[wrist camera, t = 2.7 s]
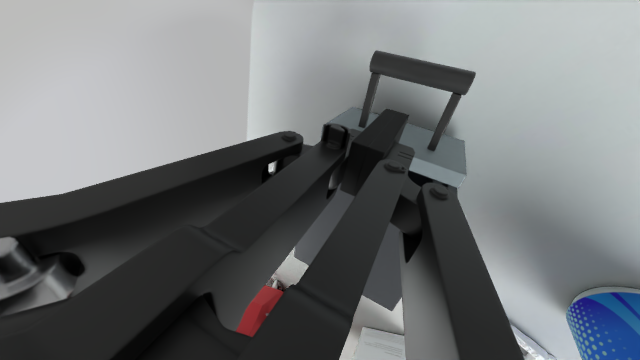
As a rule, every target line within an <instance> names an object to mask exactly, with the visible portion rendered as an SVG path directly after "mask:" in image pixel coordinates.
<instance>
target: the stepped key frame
mask: <svg viewBox="0 0 640 360" xmlns="http://www.w3.org/2000/svg"><path fill="white" fill-rule="evenodd" d="M510 326H511V328H512V330H513V333H514V335H515V338H516V340H517V342H518V344H519V345H520V346H521V347H523V348H524V349H525V350H526V351H527V352H529V353H528V354H527V355H526V356H523V357H524V359H525V360H557V359H556V358H555V357H554V356H552V355H550V354H547V352H546V351H545V350H544V349H542V348H541V347H540V346H539V345H538V344H536V343H535V342H534V341H533V340H532V339H530V338H529V337H528V336H525V335H524V334H523V333H522V332H520V331H519V330H518V329H517V328H516V327H514V326H513V325H510Z"/></svg>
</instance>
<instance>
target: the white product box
mask: <svg viewBox="0 0 640 360" xmlns="http://www.w3.org/2000/svg"><path fill="white" fill-rule="evenodd" d="M352 360H406V355H405V338H404V336H402V335H397V334H393V333H389V332H384V331H380V330H375V329H370V328H366V327H363V328H362V331H361V334H360V337H359V340H358V343H357V346H356V349H355V352H354V355H353V358H352Z"/></svg>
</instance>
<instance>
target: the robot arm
mask: <svg viewBox="0 0 640 360" xmlns="http://www.w3.org/2000/svg"><path fill="white" fill-rule="evenodd" d="M408 117H409V115H407V114H404V113H400V112H397V111H394V110H390V109H387V108H386V109H385V110H384V111H383V112H382V113H381V114H380V115H379V116H378V117H377V118H376V119H375V120H374V121H373V122H372V123H371V124H370V125H369V126H368V127H366V128H365V129H364V130H363V131H359V130H356V129H353V128H352V129H349V128H348V127H346V126H343V125H340V124H335V123H327V124H324V126H323V132H322V138H321V141H320V142H319V143H318V144H316V145H315V146H309V145H304V144H303V137H302V136H301V135H300V134H297V133H296V132H292V131H284V132H279V133H275V134H271V135H268V136H264V137H261V138H257V139H254V140H250V141H247V142H243V143H240V144H237V145H233V146H230V147H226V148H222V149H219V150H215V151H212V152H208V153H205V154H201V155H198V156H195V157H191V158H187V159H184V160H180V161H177V162H173V163H170V164H166V165H163V166H159V167H156V168H152V169H149V170H145V171H141V172H138V173H135V174H131V175H127V176H124V177H121V178H117V179H113V180H110V181H106V182H103V183H99V184H96V185H92V186H89V187H85V188H82V189H79V190H75V191H71V192H68V193H64V194H59V195H53V196H46V197H39V198H32V199H25V200H18V201H11V202H5V203H0V360H339V358H340V355H341V353H342V350H343V347H344V345H345V342H346V339H347V336H348V334H349V331H350V328H351V325H352V322H353V317H354V314H355V311H356V309H357V306H358V303H359V301H360V298H361V295H362V293H363V290H364V288H365V285H366V282H367V280H368V277H369V274H370V272H371V269H372V267H373V264H374V261H375V259H376V256H377V254H378V251H379V248H380V246H381V243H382V240H383V238H384V235H385V233H386V230H387V227H388V225H389V222H390V223H391V224H393V225H394V226H395V227H397V228H398V229H399V230H400V231H399V252H400V269H401V287H402V304H403V321H404V338H405V355H406V360H525V359H524V357H523V354H522V352H521V350H520V347H519V345H518V342H517V340H516V338H515V335H514V333H513V330H512V328H511V326H510V323H509V321H508V318H507V316H506V314H505V311H504V309H503V306H502V304H501V302H500V299H499V297H498V294H497V292H496V290H495V287H494V285H493V282H492V280H491V278H490V275H489V273H488V270H487V268H486V266H485V263H484V261H483V258H482V256H481V254H480V251H479V249H478V246H477V244H476V242H475V239H474V237H473V234H472V232H471V230H470V227H469V225H468V222H467V220H466V218H465V215H464V213H463V210H462V208H461V206H460V203H459V201H458V198H457V197H456V195H455V194H454V193H453V192H452V191H451V190H449V189H448V188H447V187H445V186H443V185H439V184H435V183H425V184H424V185H422V187H420V186H418V185H417V184H415V183H414V182H413V181H411V180H410V178H409V177H408V170H409V168H410V165H411V163H412V160H413V157H414V155H415V151H414V149H413V148H412V147H409V146H406V145H403V144H400V143H399V141H400V138H401V135H402V133H403V130H404V128H405V125H406V122H407V120H408ZM272 162H274V171H273V172H268V164H270V163H272ZM340 183H341V186H340V190H341V191H343V192H345V193H348V194H350V195H352V196H355V198H354V199H353V201H352V202H351V204H350V205H349V207H348V208H347V210H346V211H345V213H344V214H343V216H342V217H341V219H340V220H339V222H338V224H337V225H336V227H335V228H334V230H333V231H332V233H331V234H330V236H329V237H328V239H327V240H326V242H325V243H324V245H323V246H322V248H321V249H320V251H319V252H318V254H317V255H316V257H315V258H314V260H313V261H312V263H311V264H310V266H309V267H308V269H307V270H306V272H305V273H304V275H303V276H302V278H301V279H300V281H299V282H298V283H297V284H296V285H291V286H289V287H288V288H287V289H286V290H285V292H284V293H283V294H282V296H281V297H280V298H279V300H278V301H277V303H276V304H275V306H274V307H273V308H272V310H271V311H270V313H269V314H268V316H267V317H266V319H265V320H264V321H263V323H262V324H261V326H260V327H259V329H258V330H257V331H256V333H255V334H254V336H253V337H251V336H248V335H245V334H242V333H239V332H236V330H237V328H238V326H239V324H240V322H241V320H242V317H243V315H244V312H245V311H246V309H247V307H248V306H249V304H250V303H251V302H252V300H253V299H254V298H255V297H256V295H257V294H258V293H259V291H260V290H261V289H262V288H263V286H264V285H265V284H266V283H267V281H268V280H269V279H270V277H271V276H272V275H273V274H274V272H275V271H276V270H277V269H278V267H279V266H280V265H281V263H282V262H283V261H284V260H285V258H286V257H287V256H288V255H289V253H290V252H291V251H292V250H293V248H294V247H295V246H296V244H297V243H298V242H299V241H300V239H301V238H302V237H303V236H304V234H305V233H306V232H307V230H308V229H309V228H310V227H311V225H312V224H313V223H314V222H315V220H316V219H317V218H318V216H319V215H320V214H321V213H322V211H323V210H324V209H325V208H326V206H327V205H328V204H329V202H330V201H331V200H332V199H333V197H334V196H335V195H336V192H337V188H338V186H339V184H340Z"/></svg>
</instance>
